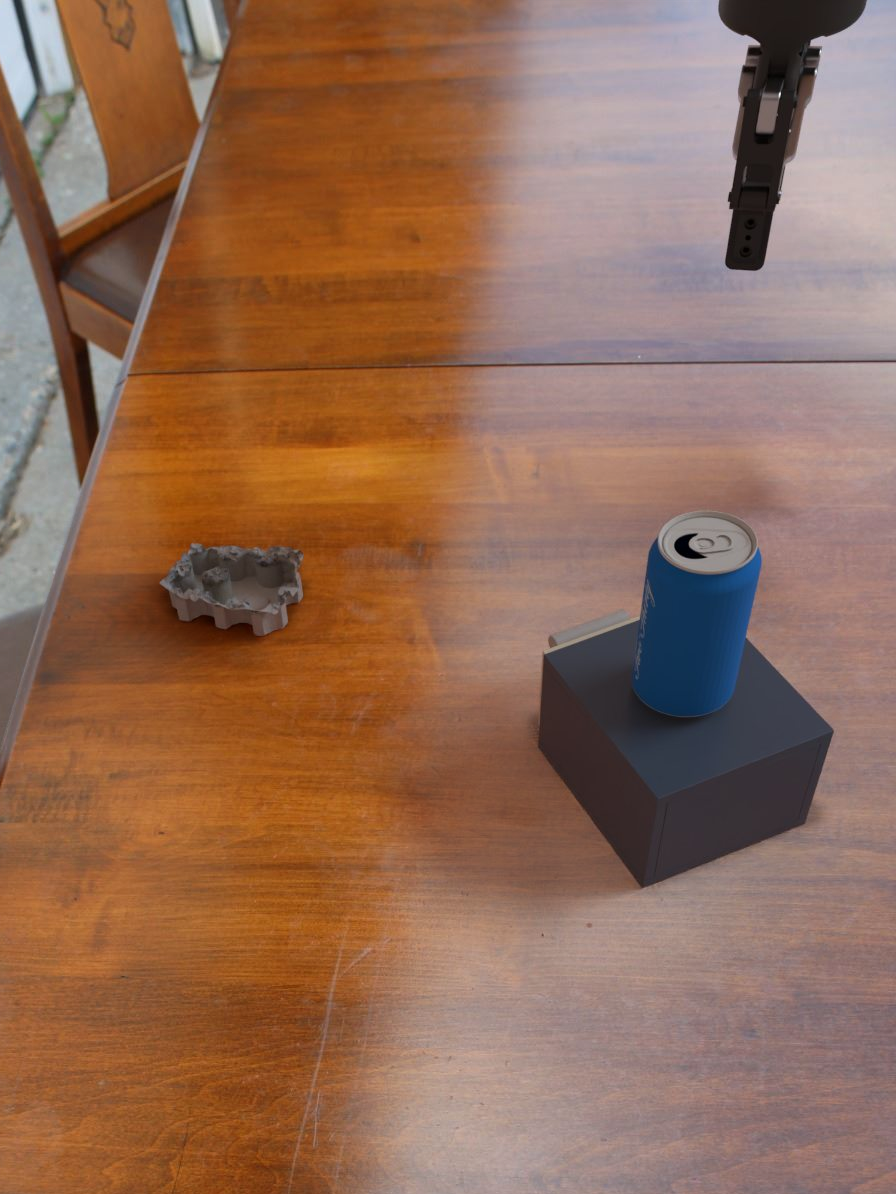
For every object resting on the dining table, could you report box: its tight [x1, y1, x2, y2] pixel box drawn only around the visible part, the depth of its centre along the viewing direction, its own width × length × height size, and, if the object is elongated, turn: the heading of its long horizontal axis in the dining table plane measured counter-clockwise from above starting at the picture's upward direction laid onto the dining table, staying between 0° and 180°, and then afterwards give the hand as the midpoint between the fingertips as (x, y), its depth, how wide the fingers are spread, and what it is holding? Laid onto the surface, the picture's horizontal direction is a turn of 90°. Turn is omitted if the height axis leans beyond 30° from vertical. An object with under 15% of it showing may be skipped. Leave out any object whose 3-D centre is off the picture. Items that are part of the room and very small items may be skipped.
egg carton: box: [159, 542, 305, 637], centre depth 109 cm, size 11×8×4 cm
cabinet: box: [537, 620, 835, 889], centre depth 90 cm, size 15×13×9 cm
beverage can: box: [632, 510, 763, 717], centre depth 82 cm, size 6×6×12 cm
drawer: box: [537, 608, 640, 727], centre depth 92 cm, size 17×11×7 cm, turn 22°
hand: (752, 230), depth 80 cm, fingers open, 8 cm apart
